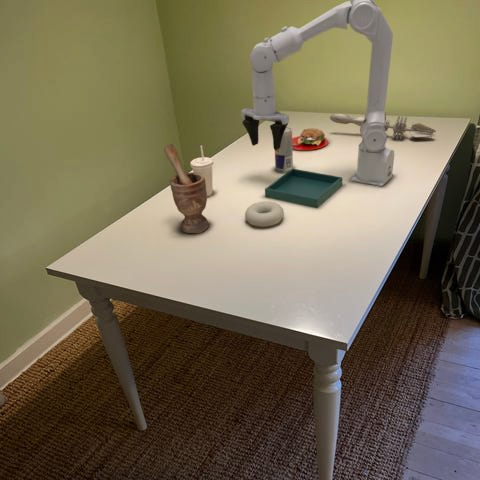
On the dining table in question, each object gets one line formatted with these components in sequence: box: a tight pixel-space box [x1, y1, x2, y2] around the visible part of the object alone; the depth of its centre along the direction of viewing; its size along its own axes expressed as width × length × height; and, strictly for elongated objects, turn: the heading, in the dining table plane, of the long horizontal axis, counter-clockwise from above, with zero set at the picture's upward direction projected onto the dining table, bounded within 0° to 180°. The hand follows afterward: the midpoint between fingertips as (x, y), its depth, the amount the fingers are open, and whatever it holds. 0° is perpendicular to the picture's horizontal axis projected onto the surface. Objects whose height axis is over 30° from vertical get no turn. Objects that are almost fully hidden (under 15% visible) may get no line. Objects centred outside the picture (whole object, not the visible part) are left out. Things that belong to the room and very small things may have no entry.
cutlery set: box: [329, 112, 437, 140], centre depth 159 cm, size 8×35×8 cm
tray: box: [264, 168, 344, 209], centre depth 134 cm, size 16×15×2 cm
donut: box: [244, 200, 285, 228], centre depth 123 cm, size 10×4×10 cm
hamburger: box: [292, 127, 329, 151], centre depth 161 cm, size 14×14×6 cm
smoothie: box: [190, 145, 214, 197], centre depth 135 cm, size 6×6×14 cm
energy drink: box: [274, 126, 294, 174], centre depth 144 cm, size 5×5×12 cm
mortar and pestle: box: [163, 143, 210, 234], centre depth 119 cm, size 12×9×20 cm
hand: (266, 146), depth 136 cm, fingers open, 7 cm apart
